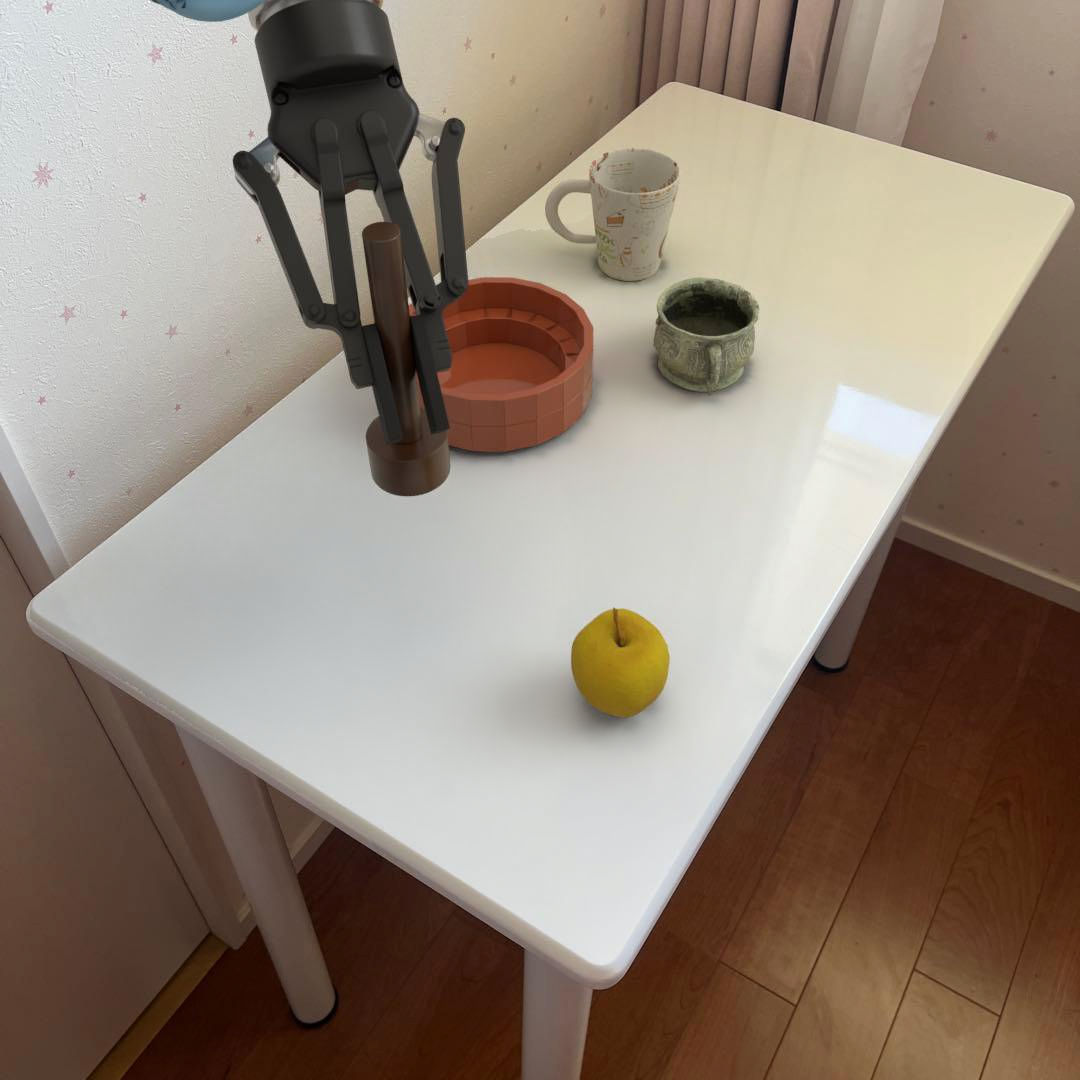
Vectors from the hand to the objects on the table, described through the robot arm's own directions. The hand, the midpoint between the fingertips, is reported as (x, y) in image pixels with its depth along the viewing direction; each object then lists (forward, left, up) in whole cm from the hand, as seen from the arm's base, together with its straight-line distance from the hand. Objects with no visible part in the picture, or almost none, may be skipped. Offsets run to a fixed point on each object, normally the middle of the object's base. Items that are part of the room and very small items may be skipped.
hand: (417, 435), depth 63 cm
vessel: (+20, +31, -19) cm, 42 cm away
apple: (+12, -5, -19) cm, 23 cm away
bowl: (+2, +27, -19) cm, 33 cm away
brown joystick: (-1, +4, -6) cm, 7 cm away
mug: (+12, +47, -19) cm, 52 cm away
